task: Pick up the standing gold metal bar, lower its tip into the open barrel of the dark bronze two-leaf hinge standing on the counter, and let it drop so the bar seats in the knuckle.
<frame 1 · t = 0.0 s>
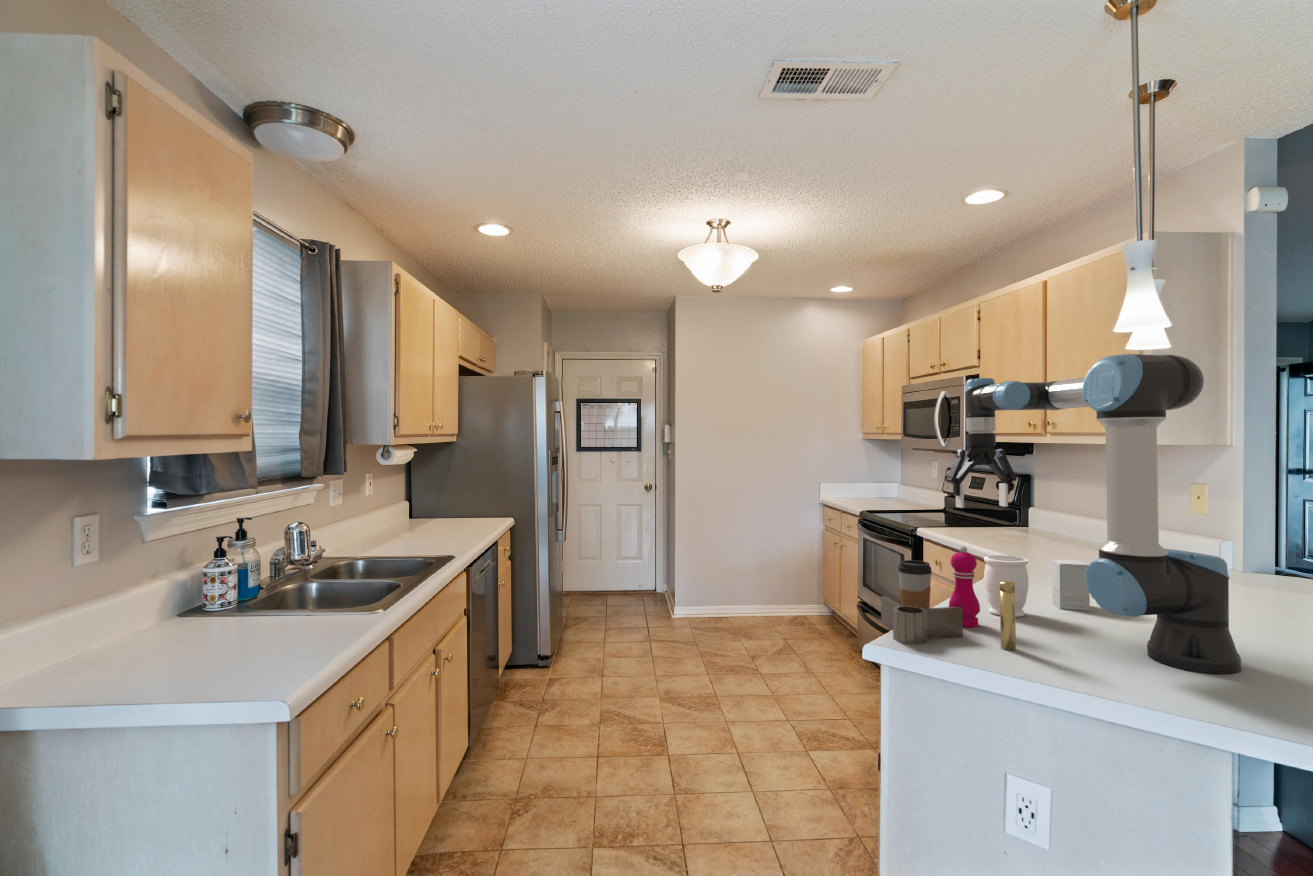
hand: (981, 506, 180), 28 cm above the counter, fingers open, 13 cm apart
supplement box: (1070, 607, 177), on the counter
gold metal bar: (1008, 648, 143), on the counter
hinge: (910, 639, 150), on the counter
pepper mill: (964, 624, 162), on the counter
coffee cup: (915, 620, 166), on the counter
jar: (1006, 614, 171), on the counter
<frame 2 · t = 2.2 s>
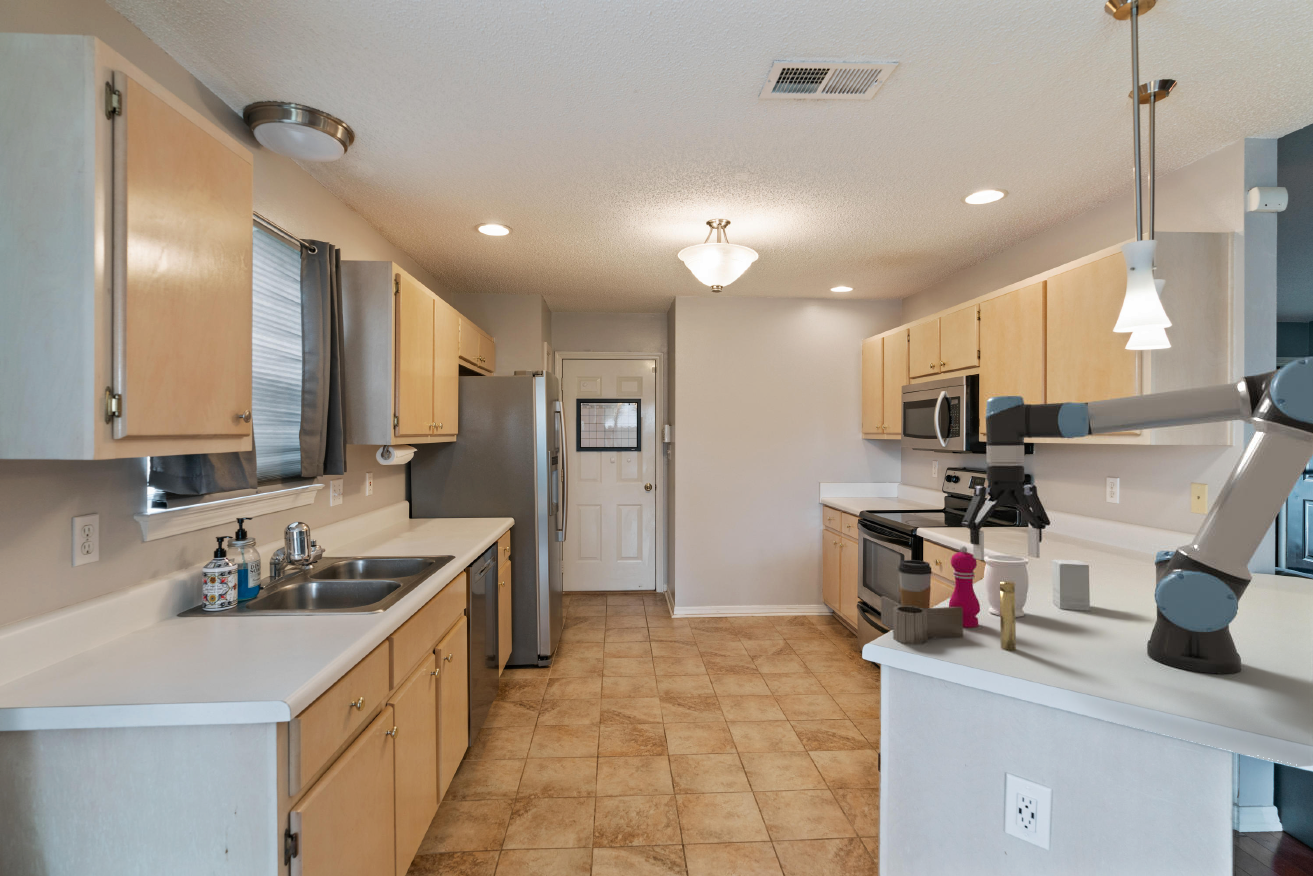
hand: (1006, 558, 143), 20 cm above the counter, fingers open, 13 cm apart
nothing on the counter moved.
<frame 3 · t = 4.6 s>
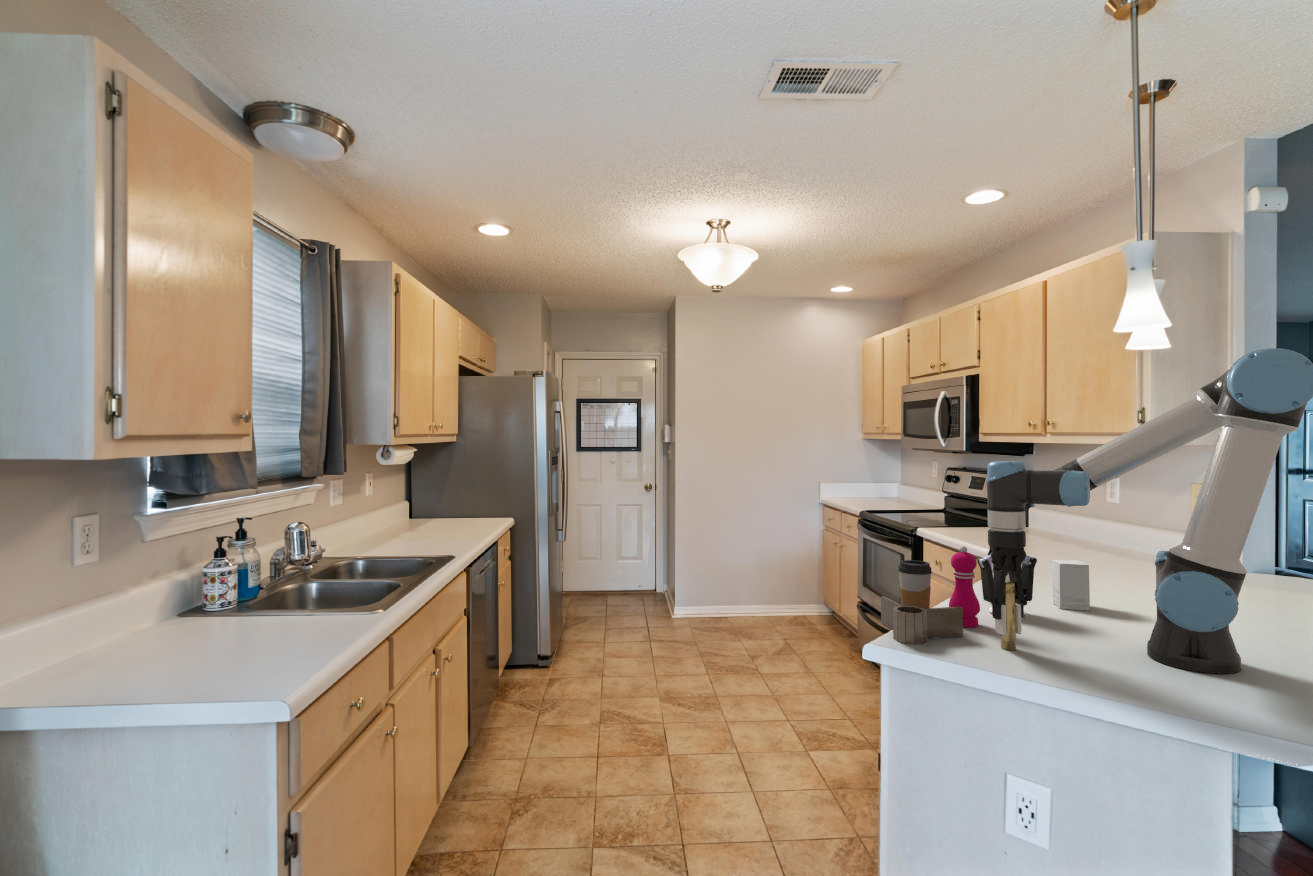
hand: (1008, 632, 143), 4 cm above the counter, fingers closed on gold metal bar, 3 cm apart
gold metal bar: (1008, 648, 143), on the counter, touching gripper
everything else where it was.
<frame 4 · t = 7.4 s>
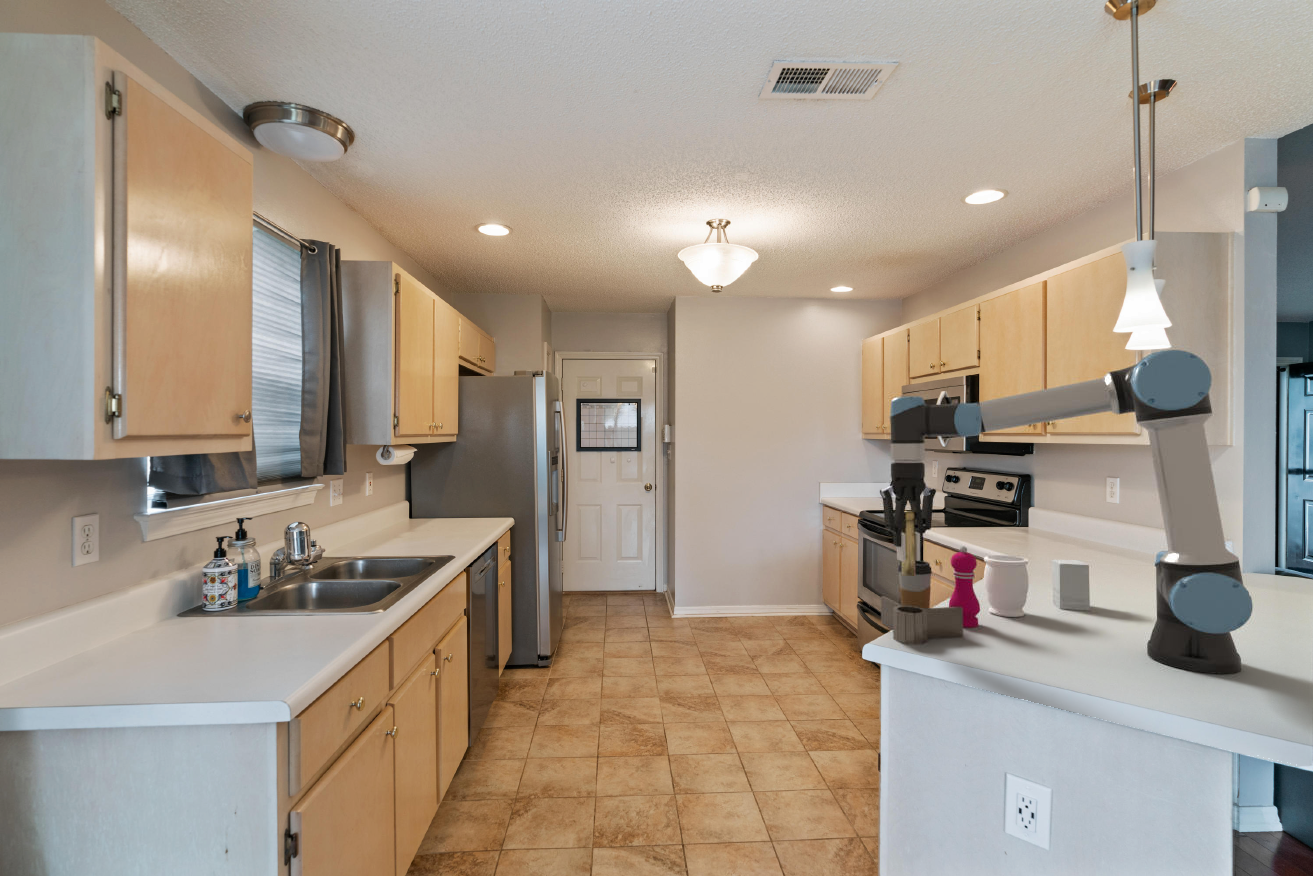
hand: (908, 559, 150), 19 cm above the counter, fingers closed on gold metal bar, 3 cm apart
gold metal bar: (908, 574, 150), point 15 cm above the counter, touching gripper
everything else where it was.
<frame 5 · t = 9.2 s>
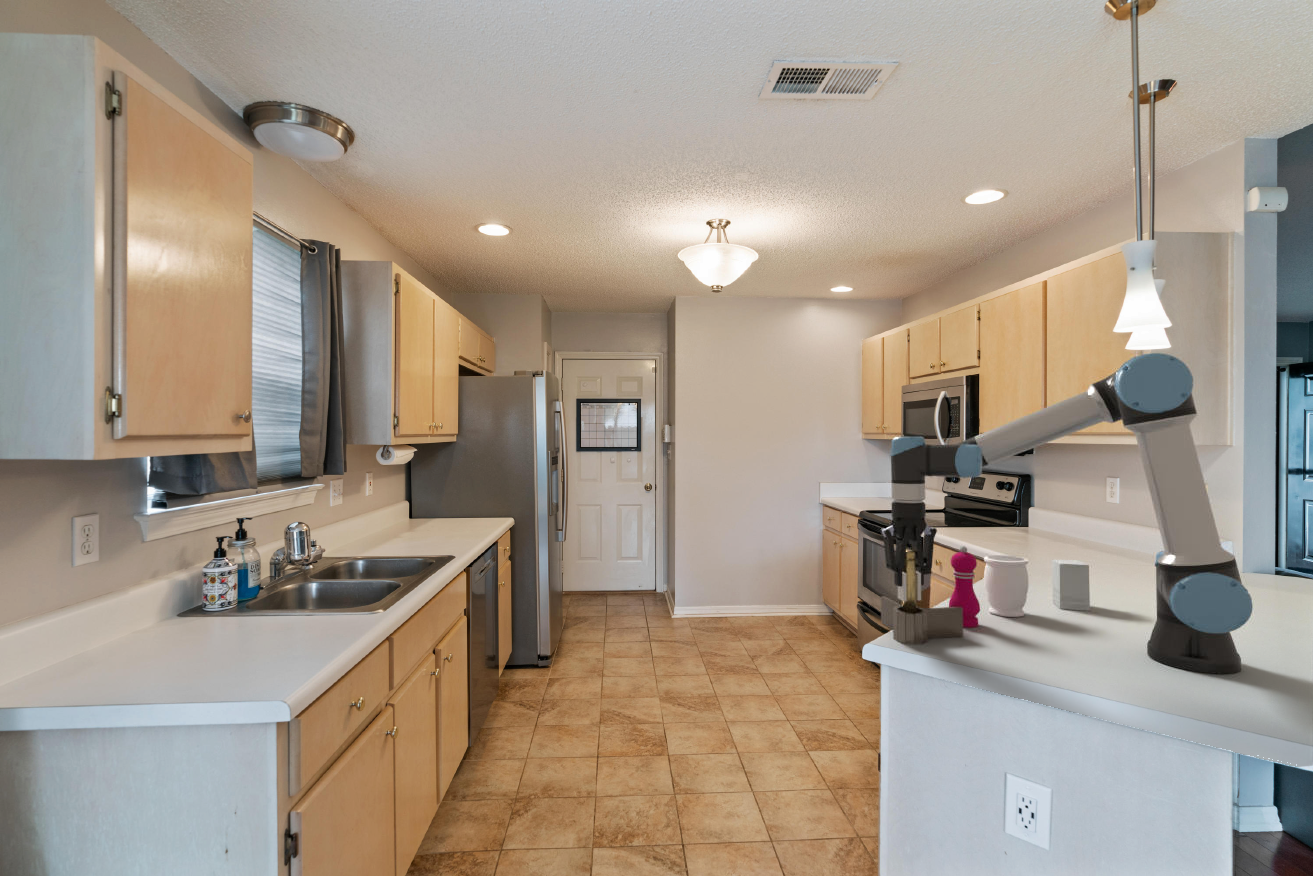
hand: (909, 599, 150), 10 cm above the counter, fingers closed on gold metal bar, 3 cm apart
gold metal bar: (909, 613, 150), point 6 cm above the counter, touching gripper
everything else where it was.
when the fingers open (9 cm above the counter, at t = 10.4 s): gold metal bar drops 4 cm, resting in hinge.
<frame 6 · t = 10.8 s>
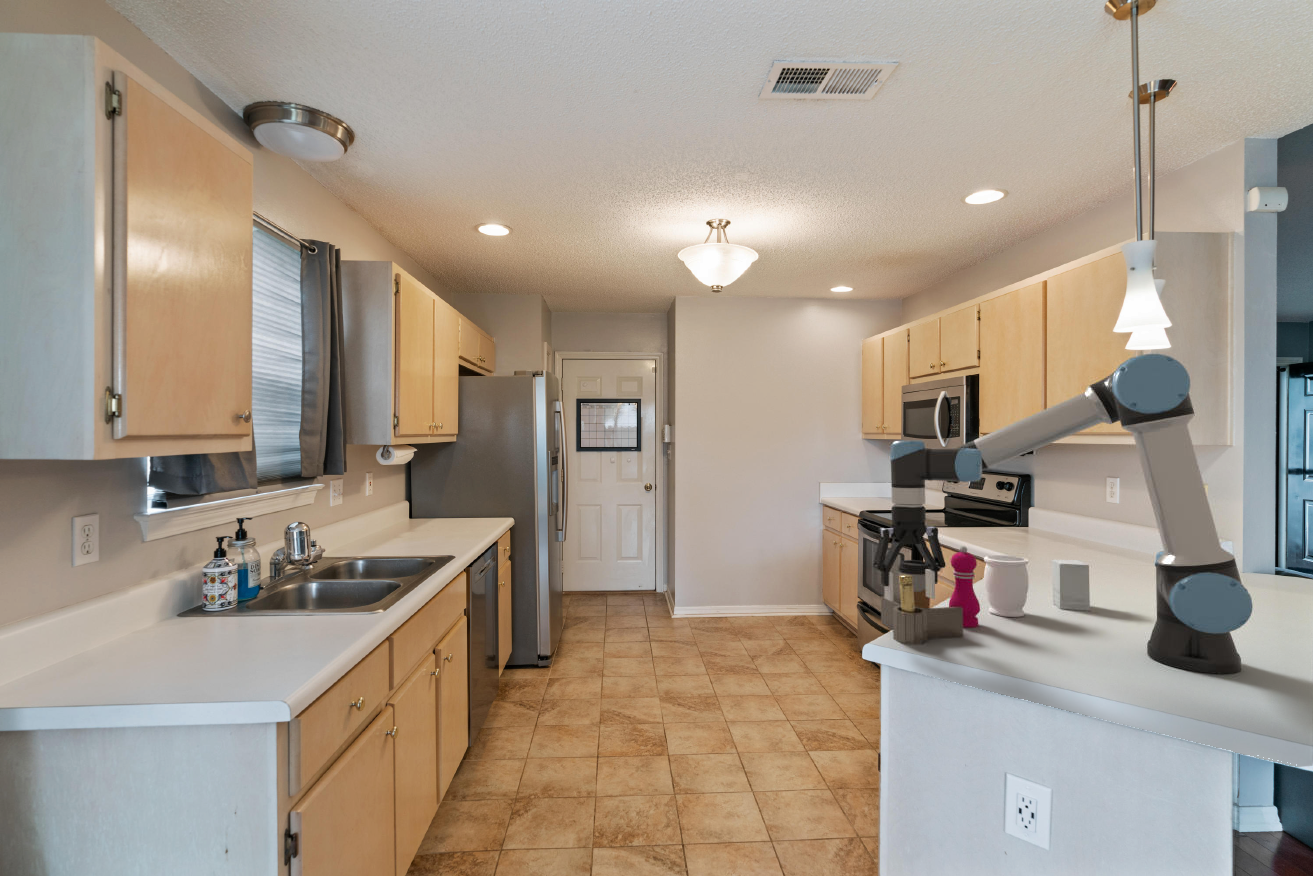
hand: (909, 598, 150), 10 cm above the counter, fingers open, 10 cm apart
gold metal bar: (910, 638, 150), resting in hinge
everything else where it was.
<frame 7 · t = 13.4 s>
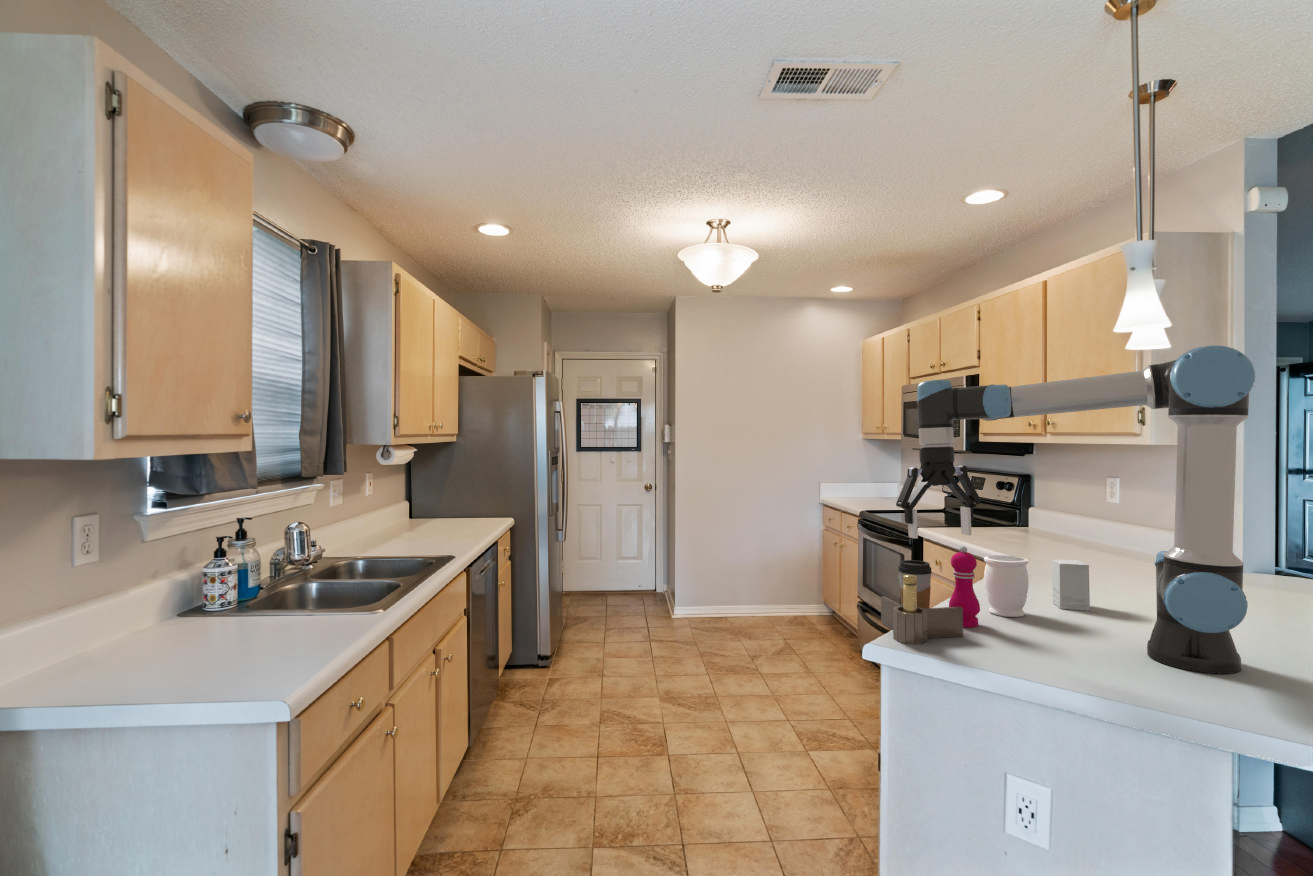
hand: (940, 536, 148), 25 cm above the counter, fingers open, 13 cm apart
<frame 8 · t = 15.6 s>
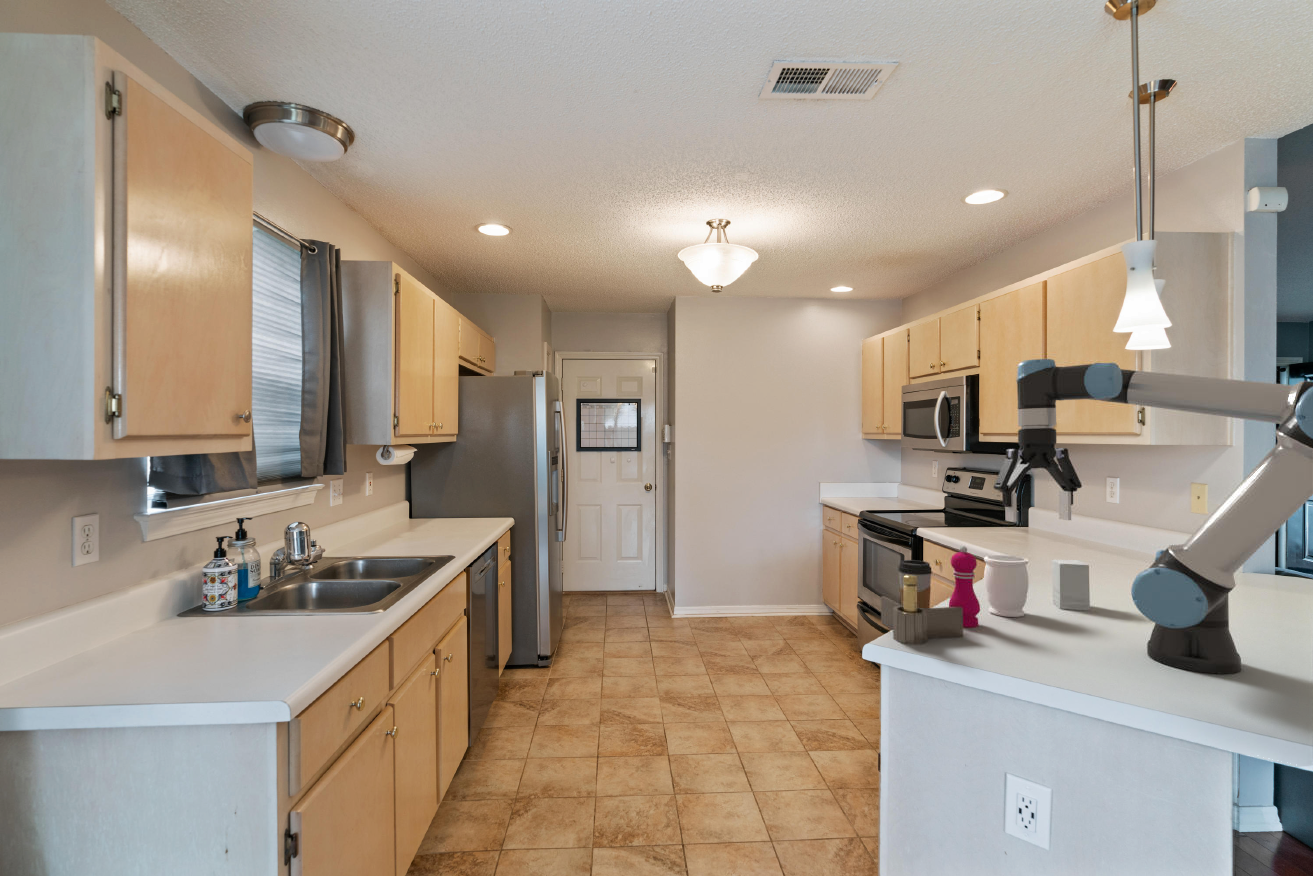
hand: (1038, 520, 144), 29 cm above the counter, fingers open, 13 cm apart
nothing on the counter moved.
at the end: gold metal bar 0.0 cm off-centre on the hinge, point 0.0 cm above the hinge's base; gold metal bar tilted 1°; the gripper is holding nothing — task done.
